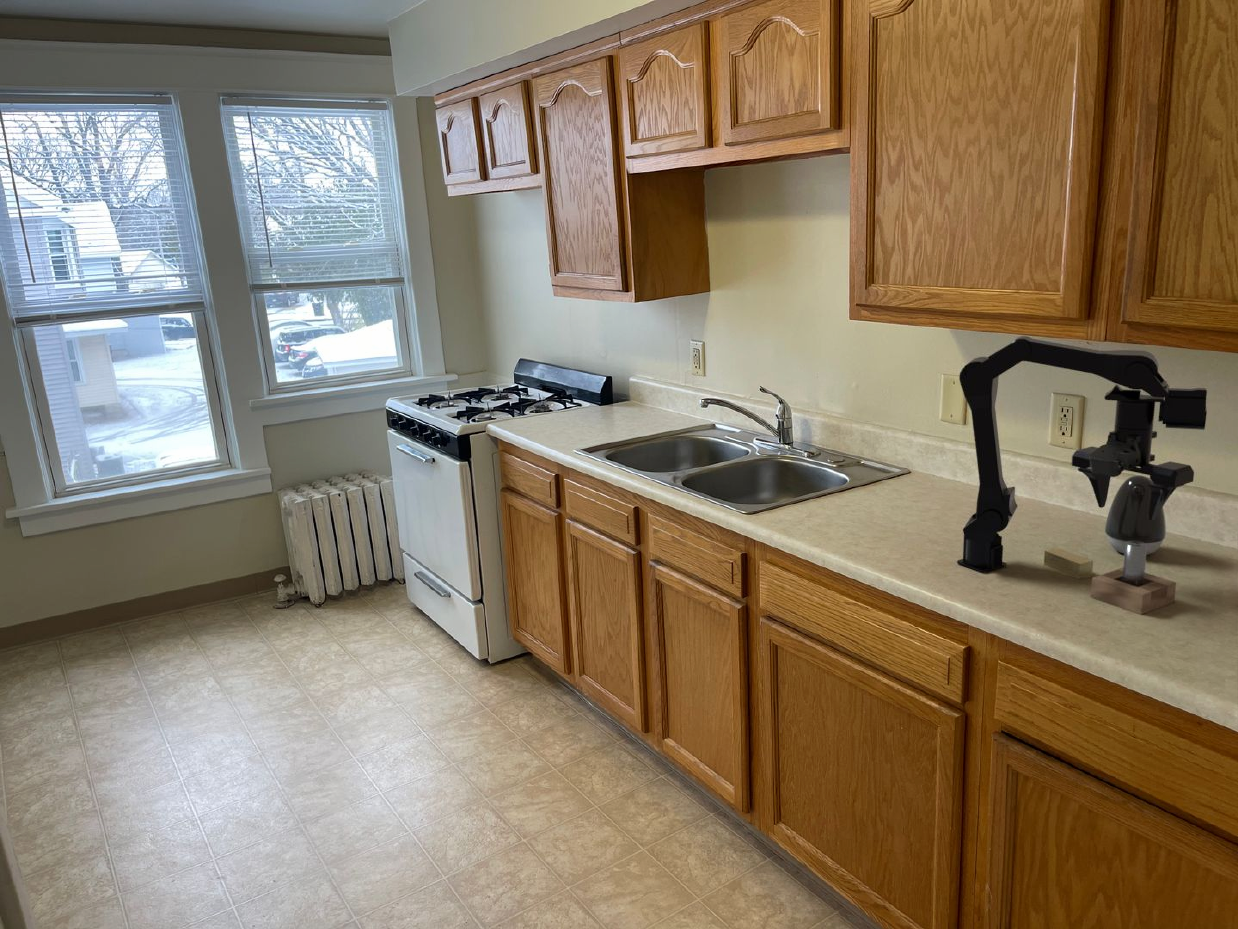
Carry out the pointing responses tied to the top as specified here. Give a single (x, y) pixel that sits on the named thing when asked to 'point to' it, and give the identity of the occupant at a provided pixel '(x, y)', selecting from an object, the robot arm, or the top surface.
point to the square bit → (1068, 563)
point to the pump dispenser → (1134, 517)
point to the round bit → (1134, 563)
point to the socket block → (1133, 592)
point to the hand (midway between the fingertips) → (1126, 513)
